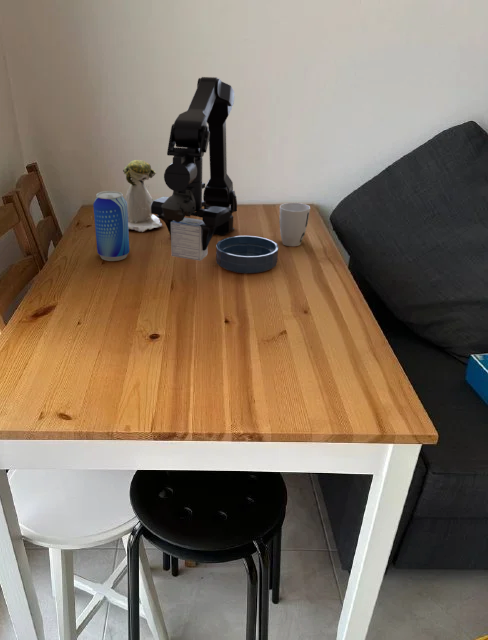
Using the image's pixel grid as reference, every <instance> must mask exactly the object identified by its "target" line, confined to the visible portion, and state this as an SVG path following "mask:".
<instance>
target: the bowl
mask: <svg viewBox="0 0 488 640" xmlns="http://www.w3.org/2000/svg"><path fill="white" fill-rule="evenodd" d="M279 249H280V246H279V244H278V243H277V242H275V241H273V240H272V239H269V238H266V237H262V236H255V235H234V236H228V237H225V238H222V239H221V240H218V241H217V243H216V244H215V261H216V264H217V265H218V266H219V267H221V268H223V269H224V270H226V271H229V272H232V273H237V274H258V273H265V272H266V271H269V270H272V269H274V268H275V267H276V266H277V264H278V261H279V259H278V258H279Z"/></svg>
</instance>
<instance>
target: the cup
mask: <svg viewBox="0 0 488 640" xmlns="http://www.w3.org/2000/svg"><path fill="white" fill-rule="evenodd" d="M310 212H311V206H310V205H308V204H306V203H301V202H285V203H282V204H280V205H279V232H280V233H279V234H280V239H281V242H282V245H284V246H287V247H298V246H300V245H301V244H302V242H303V240H304V237H305V235H306V231H307V227H308V223H309V217H310Z"/></svg>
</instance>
